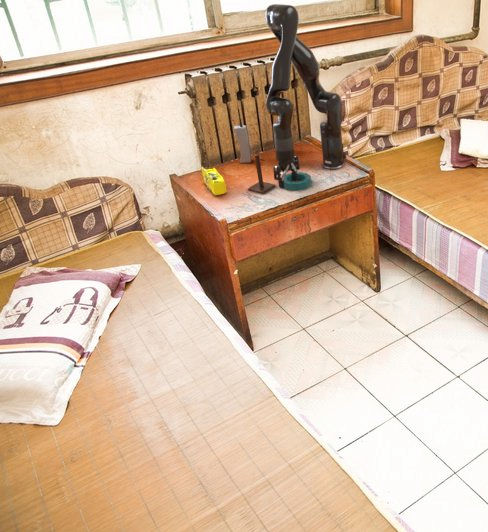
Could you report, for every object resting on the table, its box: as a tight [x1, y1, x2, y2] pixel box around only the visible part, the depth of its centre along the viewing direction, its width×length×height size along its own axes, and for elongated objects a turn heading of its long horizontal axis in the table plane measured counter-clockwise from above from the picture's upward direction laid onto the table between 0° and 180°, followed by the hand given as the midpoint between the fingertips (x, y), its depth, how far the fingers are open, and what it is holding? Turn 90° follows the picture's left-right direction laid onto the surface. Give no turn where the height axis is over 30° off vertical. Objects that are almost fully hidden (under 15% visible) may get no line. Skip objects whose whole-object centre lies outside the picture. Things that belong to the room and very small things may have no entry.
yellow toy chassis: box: [201, 166, 228, 196], centre depth 229 cm, size 16×6×8 cm, turn 31°
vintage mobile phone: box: [233, 108, 252, 164], centre depth 249 cm, size 4×5×25 cm
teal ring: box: [284, 171, 312, 192], centre depth 233 cm, size 12×12×3 cm
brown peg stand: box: [247, 153, 276, 195], centre depth 227 cm, size 8×8×15 cm
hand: (288, 184), depth 229 cm, fingers open, 8 cm apart
